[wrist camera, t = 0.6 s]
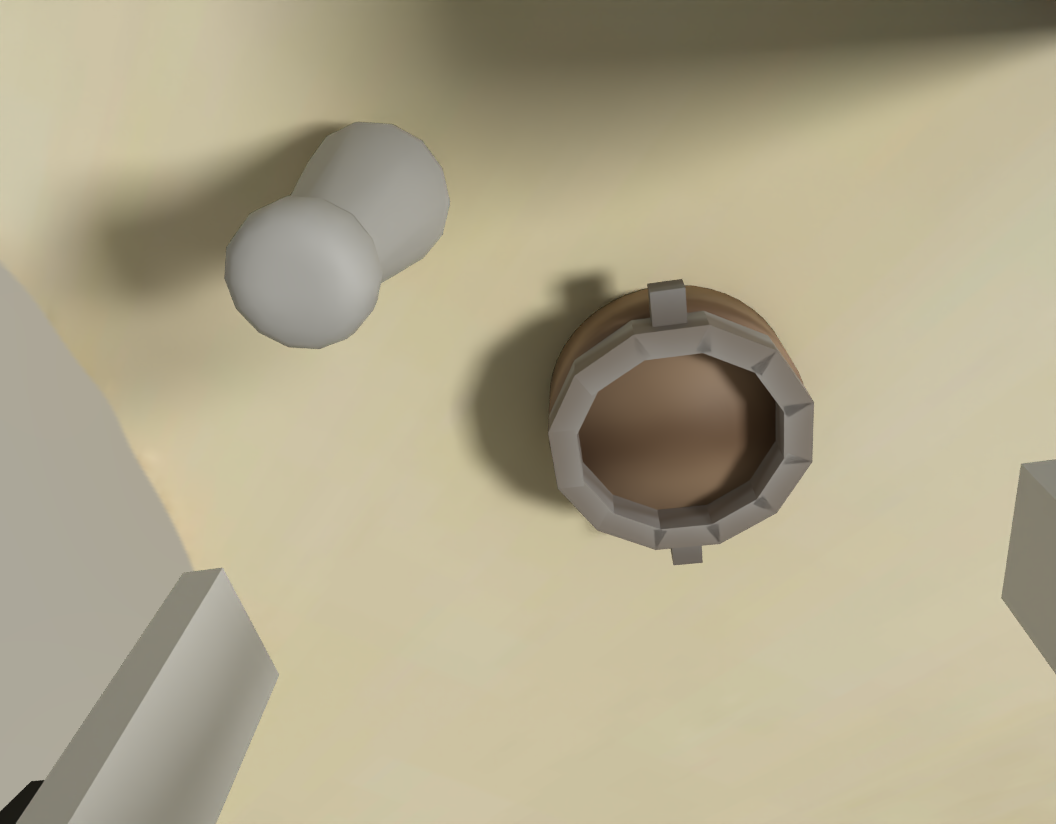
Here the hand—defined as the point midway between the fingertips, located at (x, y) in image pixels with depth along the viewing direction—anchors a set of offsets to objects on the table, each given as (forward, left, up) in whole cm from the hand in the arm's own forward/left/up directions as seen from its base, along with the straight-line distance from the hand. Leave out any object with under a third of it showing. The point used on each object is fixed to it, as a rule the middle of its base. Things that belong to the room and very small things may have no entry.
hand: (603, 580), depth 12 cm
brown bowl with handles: (+9, +3, -22) cm, 24 cm away
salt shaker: (-3, -8, -23) cm, 24 cm away
